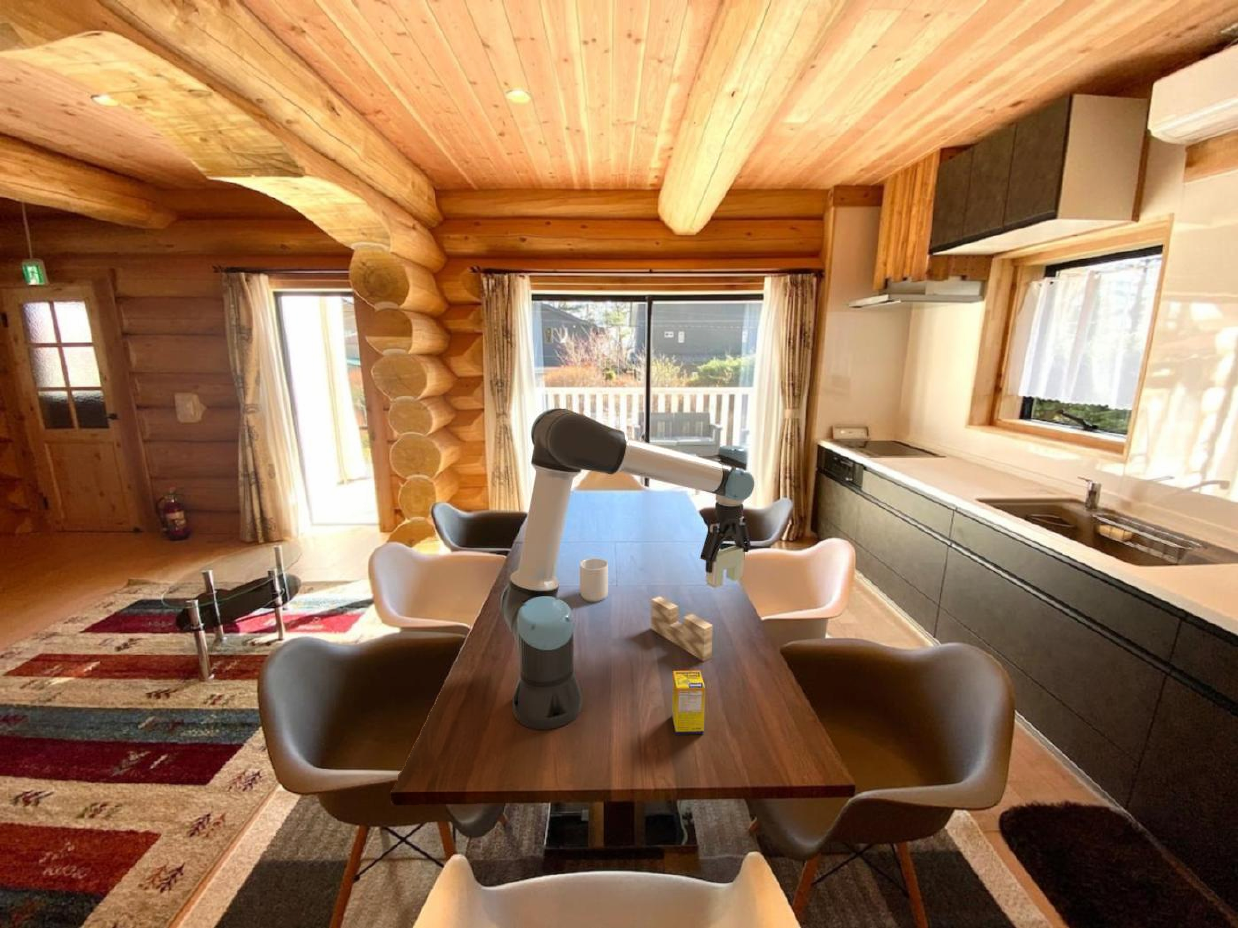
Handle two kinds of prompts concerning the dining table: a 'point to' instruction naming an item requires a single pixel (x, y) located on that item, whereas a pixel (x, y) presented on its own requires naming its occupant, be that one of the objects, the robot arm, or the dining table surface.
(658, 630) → the birch board
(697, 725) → the supplement box
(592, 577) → the mug
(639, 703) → the dining table surface
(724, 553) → the sage plate
